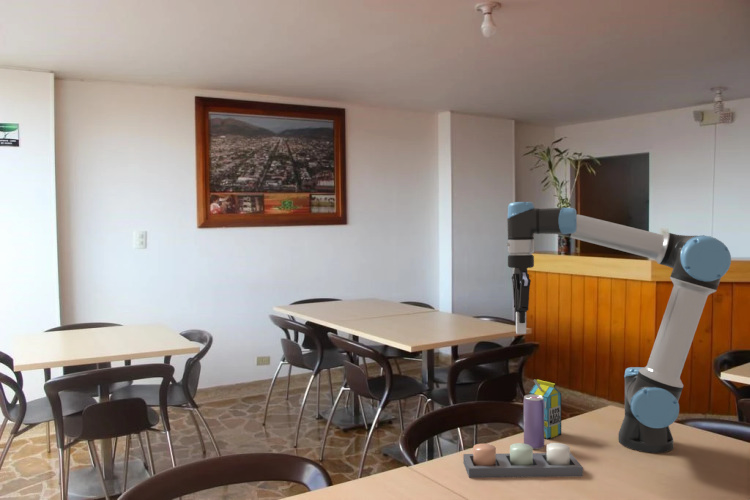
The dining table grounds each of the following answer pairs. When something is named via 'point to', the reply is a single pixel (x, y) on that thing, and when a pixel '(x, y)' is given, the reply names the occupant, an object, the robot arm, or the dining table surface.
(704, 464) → the dining table surface
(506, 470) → the dark grey flat tray
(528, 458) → the sage button
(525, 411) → the beverage can
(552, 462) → the ivory button
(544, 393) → the carton
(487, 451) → the terracotta button
